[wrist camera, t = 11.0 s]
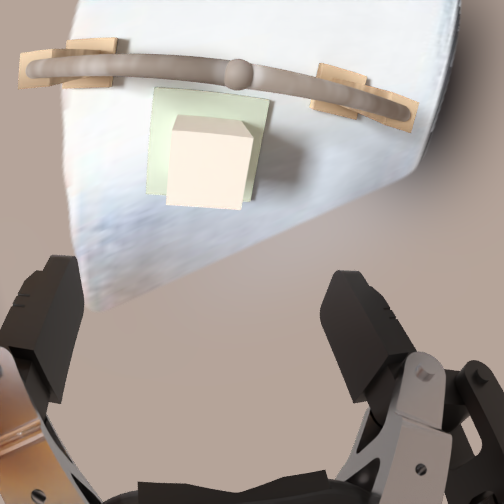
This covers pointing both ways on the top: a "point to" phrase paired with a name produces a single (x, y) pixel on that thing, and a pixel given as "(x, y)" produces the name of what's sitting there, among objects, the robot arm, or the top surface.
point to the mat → (206, 105)
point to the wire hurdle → (214, 78)
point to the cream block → (208, 162)
